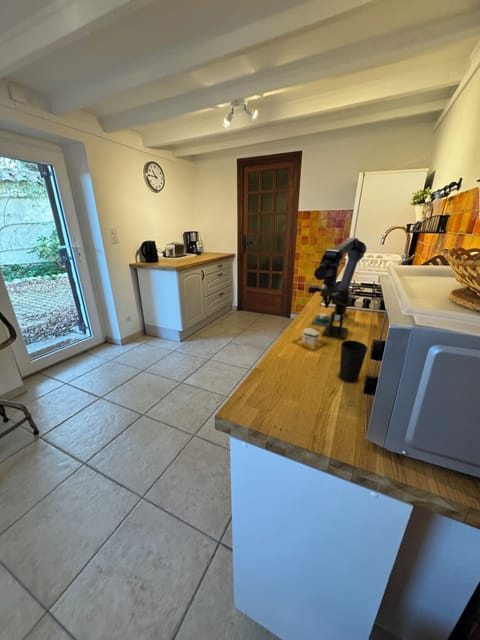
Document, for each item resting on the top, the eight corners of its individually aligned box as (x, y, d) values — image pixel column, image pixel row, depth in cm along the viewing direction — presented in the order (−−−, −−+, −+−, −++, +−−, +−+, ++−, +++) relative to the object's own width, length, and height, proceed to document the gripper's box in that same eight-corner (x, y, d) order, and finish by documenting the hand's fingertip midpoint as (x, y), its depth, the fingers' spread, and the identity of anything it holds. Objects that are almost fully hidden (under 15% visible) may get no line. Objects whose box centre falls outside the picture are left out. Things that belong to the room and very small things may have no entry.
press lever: (335, 321, 125) (337, 314, 125) (342, 322, 124) (343, 315, 124) (332, 320, 114) (334, 313, 114) (340, 321, 112) (341, 314, 112)
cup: (356, 371, 88) (362, 340, 84) (364, 384, 81) (371, 352, 77) (334, 370, 89) (338, 339, 85) (339, 383, 82) (345, 351, 78)
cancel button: (320, 316, 131) (320, 313, 130) (327, 317, 130) (327, 314, 129) (318, 318, 128) (319, 315, 128) (326, 319, 127) (326, 316, 126)
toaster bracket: (327, 327, 124) (330, 308, 121) (347, 330, 120) (350, 311, 117) (322, 336, 114) (324, 316, 111) (343, 340, 110) (346, 320, 107)
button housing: (316, 318, 136) (317, 312, 135) (332, 320, 132) (333, 315, 131) (312, 324, 128) (312, 319, 126) (328, 327, 124) (329, 321, 123)
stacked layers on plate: (325, 344, 108) (327, 332, 106) (312, 350, 102) (314, 338, 100) (306, 336, 115) (307, 325, 113) (293, 342, 110) (294, 330, 108)
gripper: (306, 278, 118) (303, 309, 124) (349, 282, 110) (344, 315, 115) (312, 273, 127) (309, 303, 133) (352, 277, 119) (347, 308, 124)
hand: (326, 307), depth 126 cm, fingers closed
